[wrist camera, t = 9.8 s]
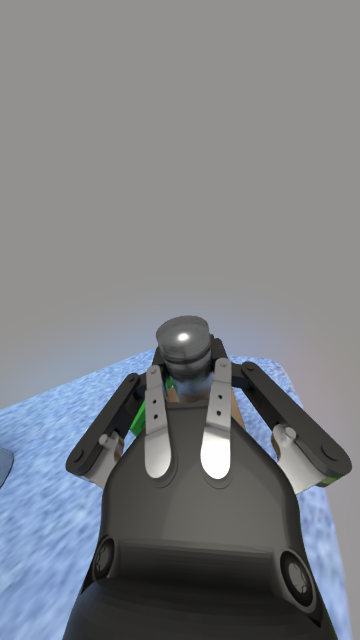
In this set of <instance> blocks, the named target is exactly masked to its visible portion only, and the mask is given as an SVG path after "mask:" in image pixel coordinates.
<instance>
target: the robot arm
mask: <svg viewBox="0 0 360 640" xmlns="http://www.w3.org/2000/svg"><path fill="white" fill-rule="evenodd" d="M210 336H211V358H212V368H213V374H214V379H213V380H212V385H211V392H210V399H209V400H199V401H196V402H194V403H191V404H184V403H179V402H170V400H169V395H168V390H167V385H166V379H170V375H169V372H168V369H167V366H166V364H165V361H164V358H163V357H162V355H161V353H160V350H159V347H157V349H156V351H155V355H154V358H153V362H152V366H151V367H149V368H148V369H147V371H146V372H145V373H143V374H141V375H138V374H137V373H131V374H129V375H128V376H127V377H126V378H125V379H124V381H123V382H122V384H121V385H120V386H119V388H118V389H117V390H116V392H115V393H114V394H113V396H112V397H111V399H110V400H109V401H108V403H107V404H106V405H105V407H104V408H103V409H102V411H101V412H100V414H99V415H98V416H97V418H96V419H95V420H94V422H93V423H92V424H91V426H90V427H89V428H88V430H87V431H86V433H85V434H84V435H83V437H82V438H81V439H80V441H79V442H78V443H77V445H76V446H75V448H74V449H73V450H72V452H71V453H70V455H69V456H68V459H67V461H66V470H67V471H68V472H70V473H72V474H74V475H75V476H76V477H78V478H80V479H83V480H85V481H90V482H92V483H95V484H96V485H98V486H99V487H101V488H102V489H104V490H103V495H102V506H101V525H100V532H99V538H98V543H97V547H96V550H95V553H94V556H93V559H92V562H91V564H90V567H89V570H88V572H87V575H86V577H85V580H84V582H83V584H82V587H81V589H80V592H79V594H78V597H77V599H76V602H75V604H74V606H73V609H72V612H71V614H70V617H69V620H68V623H67V626H66V630H65V633H64V636H63V639H62V640H338V638H337V635H336V633H335V630H334V627H333V625H332V622H331V620H330V617H329V614H328V612H327V609H326V607H325V604H324V602H323V599H322V597H321V594H320V592H319V589H318V587H317V584H316V582H315V579H314V576H313V574H312V571H311V568H310V565H309V562H308V559H307V555H306V551H305V547H304V543H303V538H302V532H301V524H300V510H299V504H298V500H297V497H296V495H298V494H299V493H301V492H303V491H305V490H307V489H309V488H311V487H312V486H314V485H316V486H318V487H326V486H328V485H330V484H331V483H333V482H334V481H336V480H338V479H340V478H341V477H343V476H345V475H346V474H348V473H349V472H350V471H351V469H352V464H351V461H350V458H349V456H348V455H347V453H346V452H345V451H344V450H343V449H342V448H341V447H340V446H339V445H338V444H337V443H336V442H335V441H334V440H333V439H332V438H331V437H330V436H329V435H328V434H327V433H326V432H325V431H324V430H323V429H322V428H321V427H320V426H319V425H318V424H317V423H316V422H315V421H314V420H313V419H312V418H311V417H310V416H309V415H308V414H307V413H306V412H305V411H304V410H303V409H302V408H301V407H300V406H299V405H298V404H296V403H295V402H294V401H293V400H292V399H291V398H290V397H289V396H288V395H287V394H286V393H285V392H284V391H283V390H282V389H281V388H280V387H279V386H278V385H277V384H276V383H275V382H274V381H273V380H272V379H271V378H270V377H269V376H268V375H267V374H266V373H265V372H264V371H263V370H262V369H261V368H260V367H259V366H258V365H256V364H255V363H253V362H244V363H243V364H242V365H240V364H235V363H232V362H231V361H230V360H229V359H228V357H227V354H226V352H225V349H224V346H223V344H222V341H221V340H220V339H219V338H216V339H214V336H213V334H211V335H210ZM231 386H232V387H236V388H241V389H242V391H243V392H244V394H245V395H246V396H247V398H248V399H249V400H250V402H251V403H252V405H253V406H254V407H255V409H256V410H257V411H258V413H259V414H260V416H261V417H262V418H263V420H264V421H265V423H266V424H267V425H268V427H269V428H270V429H271V431H272V435H271V443H272V446H273V448H274V450H275V451H276V454H277V459H278V462H277V463H276V462H275V461H274V460H273V459H272V458H271V457H270V456H269V455H268V454H267V452H266V451H265V450H264V449H263V448H262V447H261V446H260V445H259V444H258V443H257V442H256V441H255V440H254V439H253V438H252V437H251V436H250V435H249V434H248V433H247V432H246V431H245V429H244V428H243V427H242V426H241V425H240V424H239V423H238V422H237V421H236V420H235V419H234V418H233V417H232V416H231ZM144 400H145V412H146V426H145V427H144V428H143V429H142V431H141V432H140V433H139V435H138V436H137V437H136V439H135V440H134V441H133V442H132V444H131V445H130V446H129V448H128V449H127V450H126V452H125V453H124V454H123V449H124V438H125V437H126V435H127V433H128V431H129V429H130V427H131V425H132V423H133V421H134V419H135V417H136V415H137V414H138V412H139V410H140V408H141V406H142V404H143V402H144ZM122 454H123V455H122ZM121 455H122V457H121ZM12 462H13V455H12V453H11V452H10V451H7V450H5V449H3V448H0V486H1V485H2V483H3V482H4V480H5V478H6V477H7V475H8V473H9V470H10V468H11V466H12Z"/></svg>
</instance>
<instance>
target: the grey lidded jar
mask: <svg viewBox="0 0 360 640" xmlns="http://www.w3.org/2000/svg"><path fill="white" fill-rule="evenodd" d="M156 338H157V341H158V345H159V346H158V347H159V350H160V353H161V355H162V357H163V358H164V361H165V364H166V366H167V369H168V372H169V375H170V378H171V380H172V383H173V386H174V389H175V391H176V394H177V397H178V400H179V403H184V404H191V403H194V402H196V401H199V400H209V399H210V392H211V385H212V380H213V379H214V376H213V368H212V358H211V336H210V333H209V328H208V324H207V322H206V321H205V320H204V319H202V318H200V317H197V316H180V317H176V318H173V319H171V320H169V321H167V322H165V323H164V324H162V325H161V326H160V328H158V330H157V332H156Z"/></svg>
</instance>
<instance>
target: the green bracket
mask: <svg viewBox="0 0 360 640" xmlns="http://www.w3.org/2000/svg"><path fill="white" fill-rule="evenodd" d="M166 385H167V390H168V388H171V387H172V385H173V383H172V380H171V378H170V379H166ZM145 426H146V412H145V400H144V402H143V404H142V406H141V408H140V410H139V412H138V414H137V415H136V417H135V419H134V421H133V423H132V425H131V427H130V431H131V432H132V433H133V434H134V435H135V436H136V437H137V436H138V435H139V433H140V432H141V431H142V429H143V428H144V427H145Z"/></svg>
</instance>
